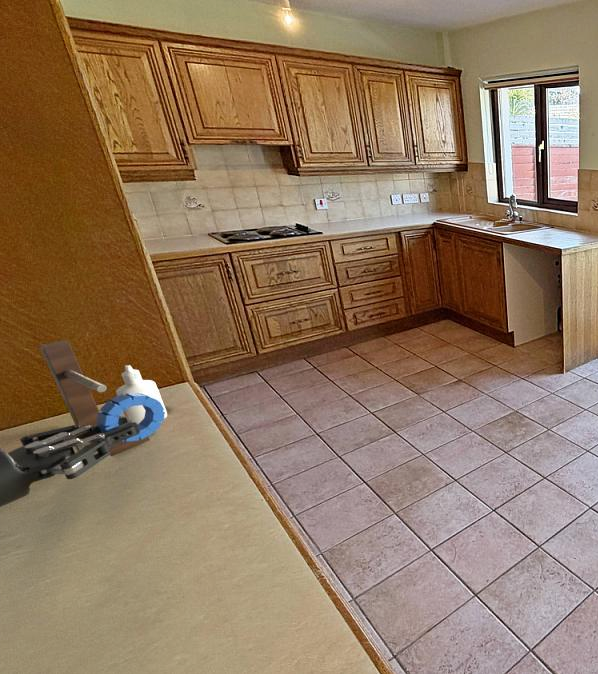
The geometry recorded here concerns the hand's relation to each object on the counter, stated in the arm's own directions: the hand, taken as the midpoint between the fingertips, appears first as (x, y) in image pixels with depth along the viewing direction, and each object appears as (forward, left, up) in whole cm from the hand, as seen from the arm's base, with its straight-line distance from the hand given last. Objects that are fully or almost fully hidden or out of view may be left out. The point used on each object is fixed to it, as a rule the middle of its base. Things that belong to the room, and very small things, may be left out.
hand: (131, 424), depth 74 cm
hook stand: (-14, 0, -10) cm, 17 cm away
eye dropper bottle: (-19, +8, -11) cm, 24 cm away
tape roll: (0, 0, +1) cm, 1 cm away
